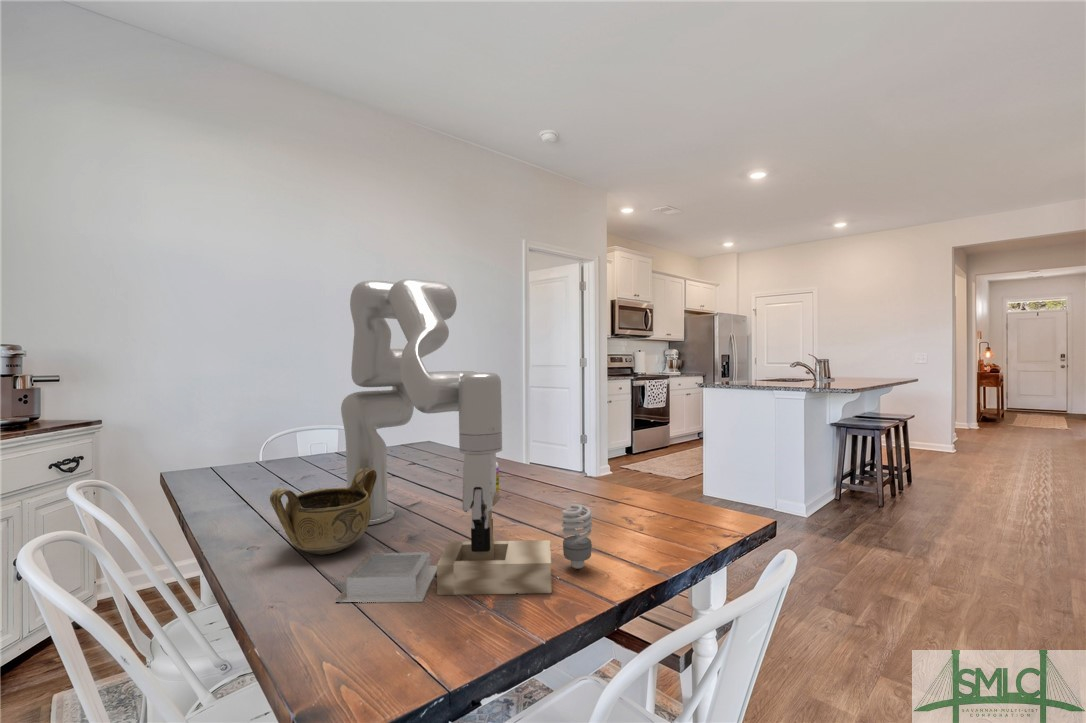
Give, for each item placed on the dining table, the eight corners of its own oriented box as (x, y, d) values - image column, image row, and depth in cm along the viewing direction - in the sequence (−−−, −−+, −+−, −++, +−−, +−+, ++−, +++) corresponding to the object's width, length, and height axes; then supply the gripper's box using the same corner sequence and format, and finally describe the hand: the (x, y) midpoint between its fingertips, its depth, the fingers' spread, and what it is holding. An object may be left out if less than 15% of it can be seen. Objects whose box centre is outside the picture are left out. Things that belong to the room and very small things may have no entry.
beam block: (437, 594, 83) (436, 564, 83) (449, 568, 94) (448, 541, 94) (551, 593, 83) (550, 563, 83) (550, 566, 94) (550, 540, 94)
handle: (505, 577, 90) (504, 493, 90) (480, 590, 84) (479, 502, 84) (485, 570, 92) (484, 489, 92) (460, 583, 87) (458, 497, 87)
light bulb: (560, 563, 95) (559, 500, 95) (589, 562, 95) (588, 499, 95) (564, 576, 89) (563, 509, 89) (595, 575, 90) (594, 508, 90)
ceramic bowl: (352, 526, 118) (350, 463, 118) (399, 540, 109) (398, 471, 109) (253, 558, 100) (252, 483, 100) (300, 578, 90) (298, 495, 90)
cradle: (335, 603, 81) (335, 581, 81) (364, 569, 94) (364, 550, 94) (422, 601, 81) (421, 580, 81) (438, 568, 94) (438, 549, 94)
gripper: (466, 435, 97) (468, 530, 97) (450, 451, 80) (452, 565, 80) (505, 435, 97) (507, 529, 97) (497, 450, 80) (499, 565, 80)
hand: (482, 544), depth 88 cm, fingers closed on handle, 3 cm apart
